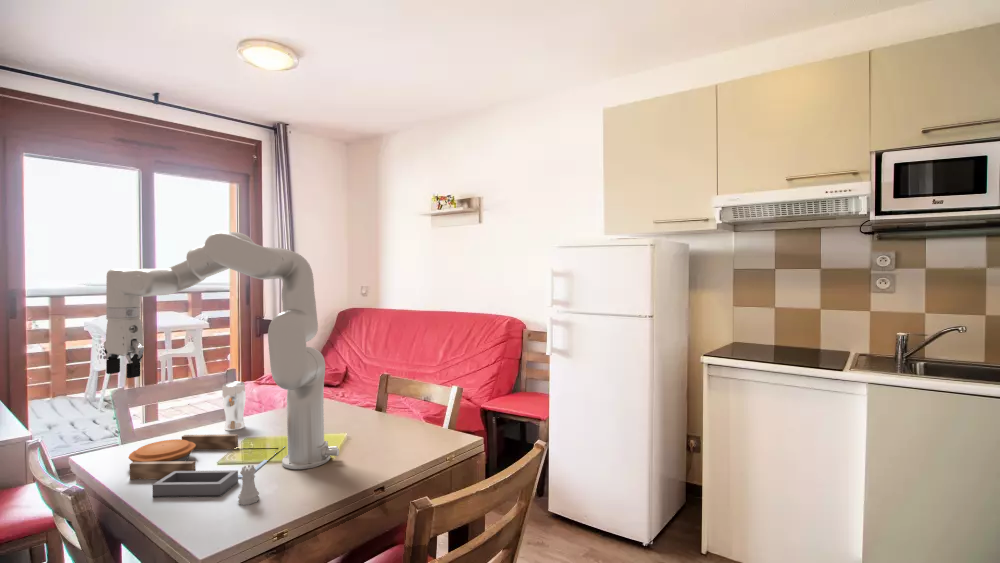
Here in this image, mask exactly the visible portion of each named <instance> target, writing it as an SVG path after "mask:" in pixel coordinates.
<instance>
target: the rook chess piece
mask: <svg viewBox="0 0 1000 563" xmlns="http://www.w3.org/2000/svg"><path fill="white" fill-rule="evenodd" d="M255 471H256V469H255V466H254V465H250V464H249V465H244V466H242V467H241V470H240V475H242V476H243V477H242V478H241V480H242V481H241V482H242V485H241V490H240V493H239V495H238V497H237V499H238V501H237V502H238V504H239V505H241V506H251V505H253V504H255V503H257V502H258V501H259V499H260V492H259V490H258V489H257V487H256V483H255V478H256V476H255V473H256V472H257V471H256V472H255Z"/></svg>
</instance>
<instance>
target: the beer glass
mask: <svg viewBox="0 0 1000 563" xmlns="http://www.w3.org/2000/svg"><path fill="white" fill-rule="evenodd" d="M221 393H222V396H221V397H222V401H221V402H222V406H223V409H224V410H223V411H224V416H225V425H224V430H225V431H226V432H232V431H233V432H234V431H239V430H242V429H244V428H246V427H245V426H246V424H245V420H244V419H245V418H244V414H245V413H244V411H245V406H246V399H247V398H246V395H247V394H246V386H245V382H244V381H233V382H226V383H224V384H222V392H221Z"/></svg>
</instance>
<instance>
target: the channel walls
mask: <svg viewBox="0 0 1000 563" xmlns="http://www.w3.org/2000/svg"><path fill="white" fill-rule="evenodd" d="M181 440H187V441H189V442H193V443H195V444H196V447H195V448H194V449H193V451H194V450H195V451H196V450H197V451H199V450H202V451H203V450H204V451H205V450H206V451H207V450H210V451H211V450H214V451H215V450H217V451H218V450H235V449H234V448H236V447H239V434H237V433H236V434H235V433H234V434H232V433H231V434H228V433H227V434H184V435H182V436H181ZM174 471H197V470H196V460H195V461H194V460H193V461H192V460H191V461H190V460H186V461H166V462H132V461H131V463H129V480H130V479H131V480H161V479H162V478H164V477H166V476H167V475H169V474H170V473H172V472H174Z"/></svg>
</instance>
